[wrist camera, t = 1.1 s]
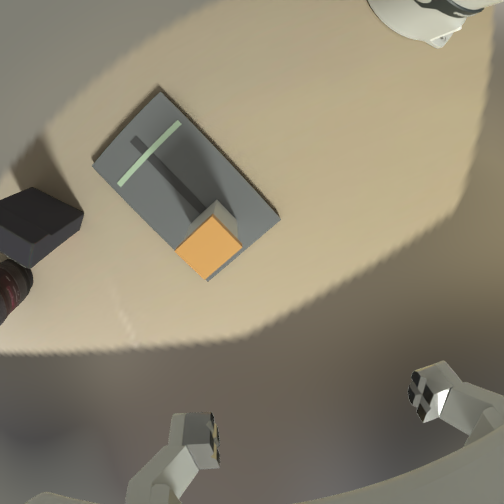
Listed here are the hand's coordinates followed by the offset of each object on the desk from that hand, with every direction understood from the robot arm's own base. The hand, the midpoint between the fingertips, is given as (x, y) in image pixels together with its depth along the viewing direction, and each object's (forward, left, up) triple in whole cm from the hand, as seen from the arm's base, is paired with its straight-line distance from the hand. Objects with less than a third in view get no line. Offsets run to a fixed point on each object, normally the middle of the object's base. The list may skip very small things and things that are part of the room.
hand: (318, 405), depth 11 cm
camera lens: (+39, -20, -35) cm, 56 cm away
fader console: (+6, -8, -35) cm, 37 cm away
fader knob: (+6, -2, -34) cm, 34 cm away
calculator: (+23, -21, -35) cm, 47 cm away
